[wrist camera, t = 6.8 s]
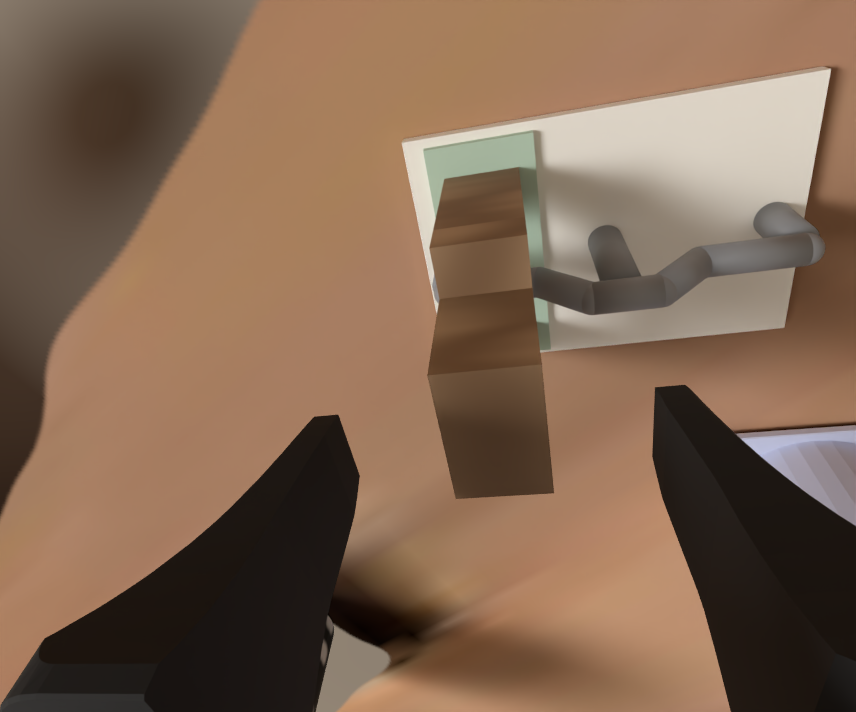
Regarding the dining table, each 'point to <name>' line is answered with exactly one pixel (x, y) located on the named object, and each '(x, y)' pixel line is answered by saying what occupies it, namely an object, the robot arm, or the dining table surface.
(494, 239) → the stepped wooden block
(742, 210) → the buzz wire board
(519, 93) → the dining table surface
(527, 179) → the end pad
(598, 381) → the dining table surface
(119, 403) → the dining table surface
